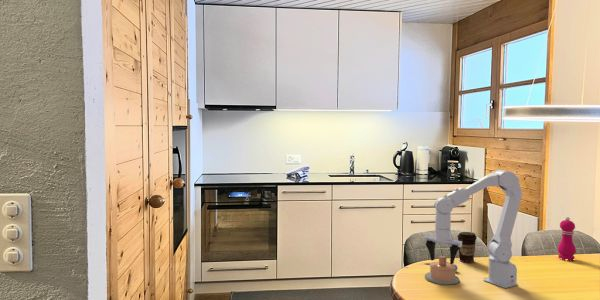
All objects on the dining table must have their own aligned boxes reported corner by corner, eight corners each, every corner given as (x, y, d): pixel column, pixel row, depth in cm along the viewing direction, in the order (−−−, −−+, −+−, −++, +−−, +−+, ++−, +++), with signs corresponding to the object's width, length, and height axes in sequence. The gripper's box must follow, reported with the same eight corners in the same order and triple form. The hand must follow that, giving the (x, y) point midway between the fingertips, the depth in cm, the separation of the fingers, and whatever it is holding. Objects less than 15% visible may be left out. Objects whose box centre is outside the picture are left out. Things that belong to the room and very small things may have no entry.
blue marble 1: (452, 269, 172) (452, 262, 171) (447, 270, 170) (447, 263, 170) (446, 267, 174) (446, 260, 174) (441, 268, 173) (441, 261, 173)
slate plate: (466, 281, 157) (466, 279, 157) (443, 287, 151) (443, 285, 151) (440, 271, 168) (440, 269, 168) (417, 276, 162) (417, 274, 162)
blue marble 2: (459, 271, 168) (459, 264, 168) (454, 272, 167) (454, 265, 167) (453, 269, 171) (453, 262, 171) (448, 270, 170) (448, 263, 169)
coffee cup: (479, 264, 179) (480, 235, 178) (461, 264, 179) (461, 235, 179) (471, 258, 187) (472, 231, 187) (454, 258, 188) (454, 230, 187)
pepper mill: (575, 258, 188) (576, 216, 188) (576, 262, 182) (577, 219, 182) (557, 256, 192) (558, 214, 192) (557, 259, 186) (558, 217, 186)
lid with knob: (460, 278, 158) (460, 258, 158) (444, 282, 153) (445, 262, 153) (440, 271, 166) (440, 252, 166) (424, 275, 161) (425, 255, 161)
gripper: (464, 228, 157) (464, 262, 158) (428, 223, 166) (428, 255, 167) (459, 232, 152) (458, 267, 152) (422, 226, 161) (421, 259, 161)
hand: (442, 261), depth 159 cm, fingers open, 7 cm apart
